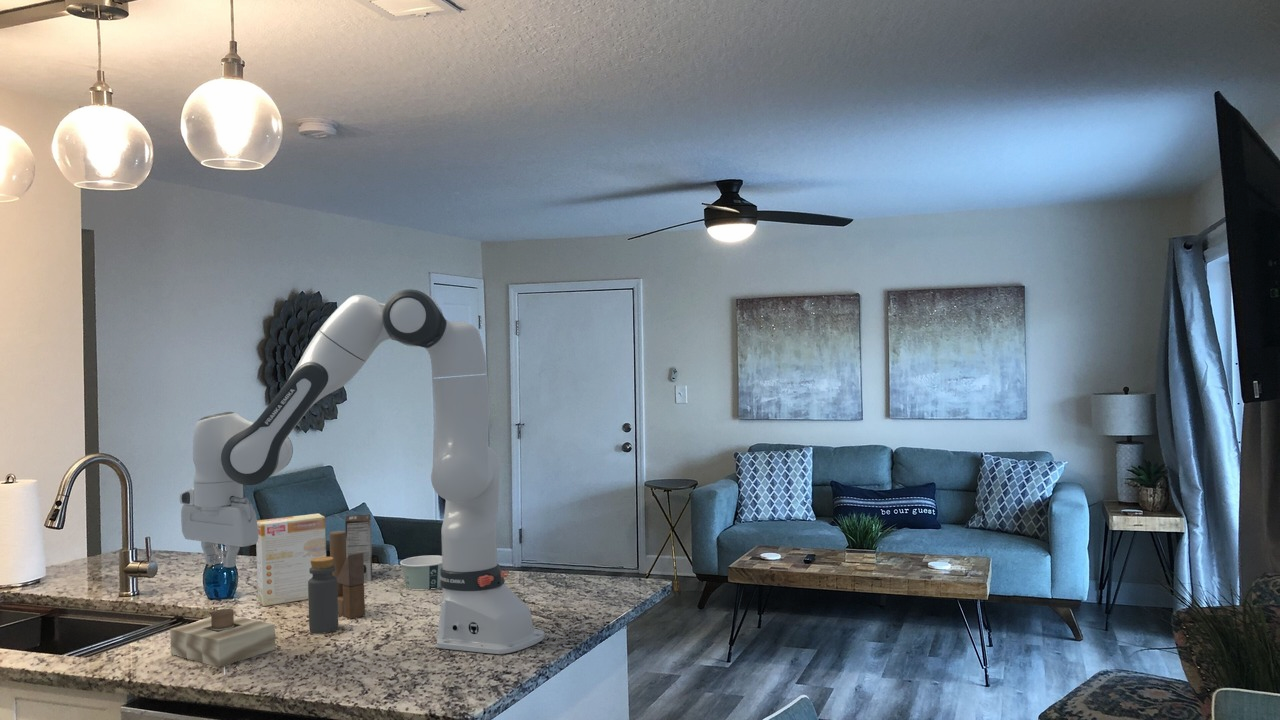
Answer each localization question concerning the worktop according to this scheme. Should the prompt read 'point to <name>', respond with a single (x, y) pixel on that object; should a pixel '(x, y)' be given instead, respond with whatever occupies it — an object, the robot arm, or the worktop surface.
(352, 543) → the coffee box
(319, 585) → the bottle
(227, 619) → the peg
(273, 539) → the coffeecake box
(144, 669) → the worktop surface
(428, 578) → the food container
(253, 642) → the board
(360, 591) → the wooden block
